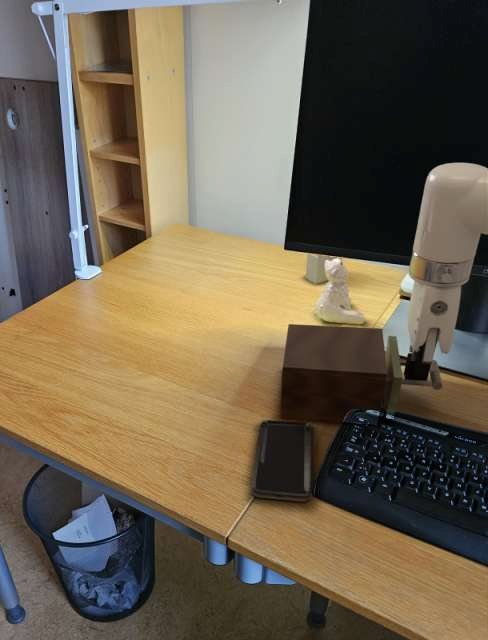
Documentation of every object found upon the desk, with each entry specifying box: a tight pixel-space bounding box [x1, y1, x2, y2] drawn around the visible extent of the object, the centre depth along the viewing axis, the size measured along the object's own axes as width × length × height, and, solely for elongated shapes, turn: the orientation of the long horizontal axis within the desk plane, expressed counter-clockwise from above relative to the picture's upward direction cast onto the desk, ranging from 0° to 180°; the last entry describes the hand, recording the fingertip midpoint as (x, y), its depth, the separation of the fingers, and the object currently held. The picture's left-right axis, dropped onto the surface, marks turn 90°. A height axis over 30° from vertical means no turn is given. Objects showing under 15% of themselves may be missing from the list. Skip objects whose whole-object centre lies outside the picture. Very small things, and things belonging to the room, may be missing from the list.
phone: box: [251, 419, 314, 503], centre depth 79 cm, size 8×1×15 cm
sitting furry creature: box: [314, 258, 365, 325], centre depth 107 cm, size 10×9×12 cm
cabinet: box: [279, 323, 388, 424], centre depth 87 cm, size 15×13×10 cm
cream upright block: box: [305, 253, 343, 285], centre depth 122 cm, size 4×7×10 cm, turn 118°
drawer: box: [383, 335, 444, 413], centre depth 86 cm, size 20×11×8 cm, turn 78°
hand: (414, 378), depth 85 cm, fingers closed
